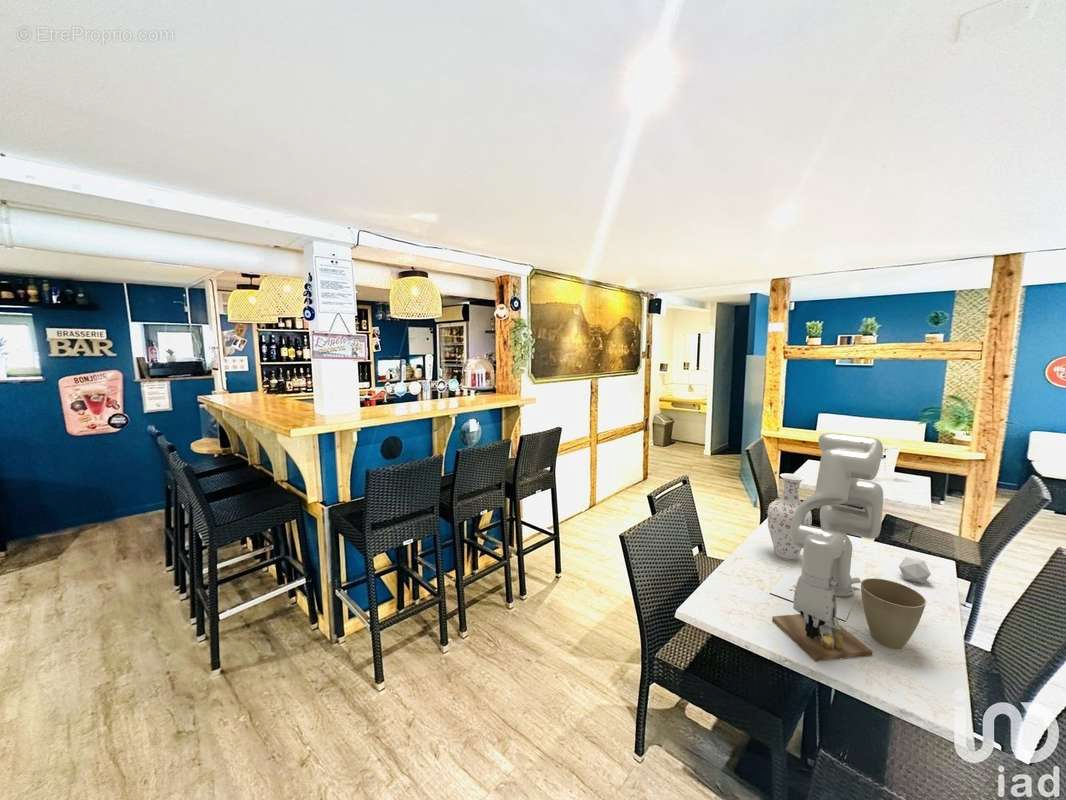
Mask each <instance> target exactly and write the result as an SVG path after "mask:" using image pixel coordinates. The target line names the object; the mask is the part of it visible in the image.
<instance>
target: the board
mask: <svg viewBox="0 0 1066 800" xmlns="http://www.w3.org/2000/svg"><path fill="white" fill-rule="evenodd" d="M771 618H772V620H771V622H773V623H774V624H775V625H776V626H777V627H778V628H780V629H781V631H783V632H784V633H785V634H786V635H787V636H788V637H789V638H790V639H791V640H792V641H793V642H794V643H795V644H796V643H797V644H796V645H797V646H798V647H800V648H801V650H803V651H804V652H805V653H806V654H807V655H808V656H809V657H810V658H811V657H812V658H813V659H814V660H813V659H812V658H811V659H812V660H813V661H814V662H819V660H822V661H831V660H830V659H832V660H840V658H842V659H851V658H862V657H871V656H873V652H874V651H873V649H872V648H870V647H869V646H867V645H866V644H864V643H863V642H862V641H860V640H859V639H858V638H856V636H854V635H853V634H852V633H850V632H849V631H848V630H847V629H845V628H844V627H843V626H842V625H840V624H839V626H840V629H841V632H840V634H836V638H835V637H834V646H833V649H832V650H827V649H825V648H823V647H822V646H821V645H820V640H819V636H815V637H814V638H813V639H811V638H810V637H807V636H806V634H807V632H806V631H805V627H806V623H805V621H804V618H803V617H802V615H801V614H800V613H798V614H787V615H786V614H785V615H772V617H771Z"/></svg>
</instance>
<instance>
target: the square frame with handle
mask: <svg viewBox="0 0 1066 800" xmlns="http://www.w3.org/2000/svg"><path fill="white" fill-rule="evenodd" d="M812 618H813V619H812V620H813V621H814V619H815V617H813V616H812ZM834 623H835V625H834V626H833V627H830V626H826V625H821V626H819V633H818V636H819V640H820V645H821V646H822V647H823V648H825V649H827V650H832V649H833V646H834V637H835V638H836V634H840V632H841V629H840V626H841V625H840V622H839V620H838V615H836V617H835V618H834ZM839 625H840V626H839Z"/></svg>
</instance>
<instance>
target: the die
mask: <svg viewBox="0 0 1066 800" xmlns="http://www.w3.org/2000/svg"><path fill="white" fill-rule="evenodd" d="M898 567H899V570H900V573H901V574H902V577H903V579H904V581H905V580H906V581H909V582H913V583H917V584H925V582H926V581H927V580H928V579H929V577H930V576H931V571H930V569H929V567H928V565H927V563H926V562H925V560H922V559H918V558H913V557H910V556H905V557H904V558H903V560H902V562H900V564H899V565H898Z"/></svg>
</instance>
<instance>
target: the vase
mask: <svg viewBox="0 0 1066 800" xmlns="http://www.w3.org/2000/svg"><path fill="white" fill-rule="evenodd" d="M779 477H781V478H782V480H783V493H782V495H781V497H780V498H779V499H776V500H774V501H773V500H772V502H770V503H769V504H768V509H767V527H768V531H769V534H770V538H771V542H772V546H773V549H774V555H775V557H777V558H779V559H781V560H783V561H784V560H785V561H789V562H794V561H798V559H799V555H800V553H801V551H803V548H800V547H797V546H795V545H794V544H793V543H792V541H791V528H792V523H793V518H794V514H795V511H796V509H797V507H798V506H799V505H800V504H801V503H802V502H803V501H801V500H800V497H799V488H800V486H801V485H800V484H801V483H802V481H804V480H805V479H806V478H805V477H804V476H802V475H799V474H796V473H785V472H784V473H781V474H779ZM812 516H813V515H812V510H811V511H809V512H808V513H807V515H806V516H805V519H804V524H808V525H812V522H813V517H812Z"/></svg>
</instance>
